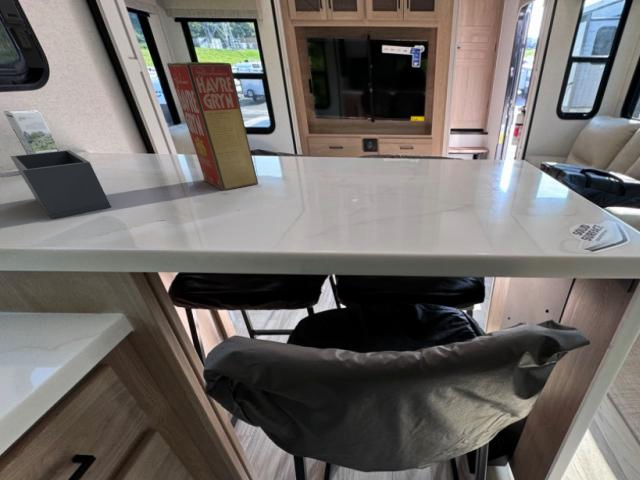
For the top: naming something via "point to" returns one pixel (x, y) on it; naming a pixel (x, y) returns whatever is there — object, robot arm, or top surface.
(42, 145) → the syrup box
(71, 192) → the dark grey open box
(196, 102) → the food packaging
